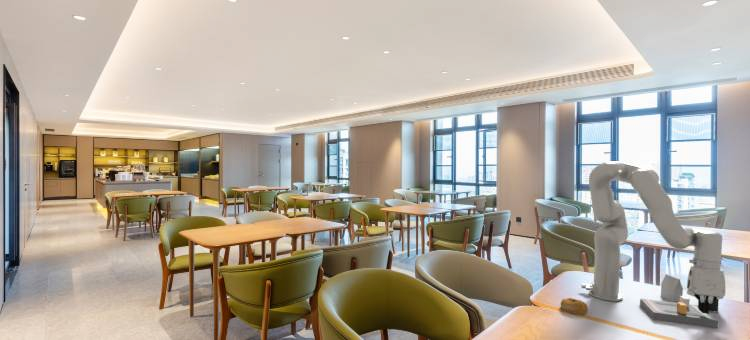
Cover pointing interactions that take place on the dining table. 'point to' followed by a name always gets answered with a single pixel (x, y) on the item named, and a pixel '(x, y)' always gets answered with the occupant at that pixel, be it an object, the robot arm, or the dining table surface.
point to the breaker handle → (681, 308)
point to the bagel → (574, 306)
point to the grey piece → (671, 288)
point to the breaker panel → (670, 313)
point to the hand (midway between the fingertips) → (703, 311)
